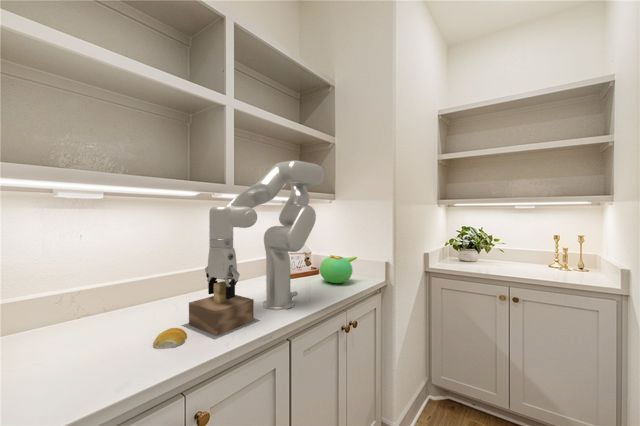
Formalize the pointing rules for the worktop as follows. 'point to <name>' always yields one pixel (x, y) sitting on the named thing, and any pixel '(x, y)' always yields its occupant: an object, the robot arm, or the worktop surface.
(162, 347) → the bread roll
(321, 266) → the green rounded piece
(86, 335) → the worktop surface
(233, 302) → the square lid with knob
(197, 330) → the rubber mat
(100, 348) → the worktop surface
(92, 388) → the worktop surface
